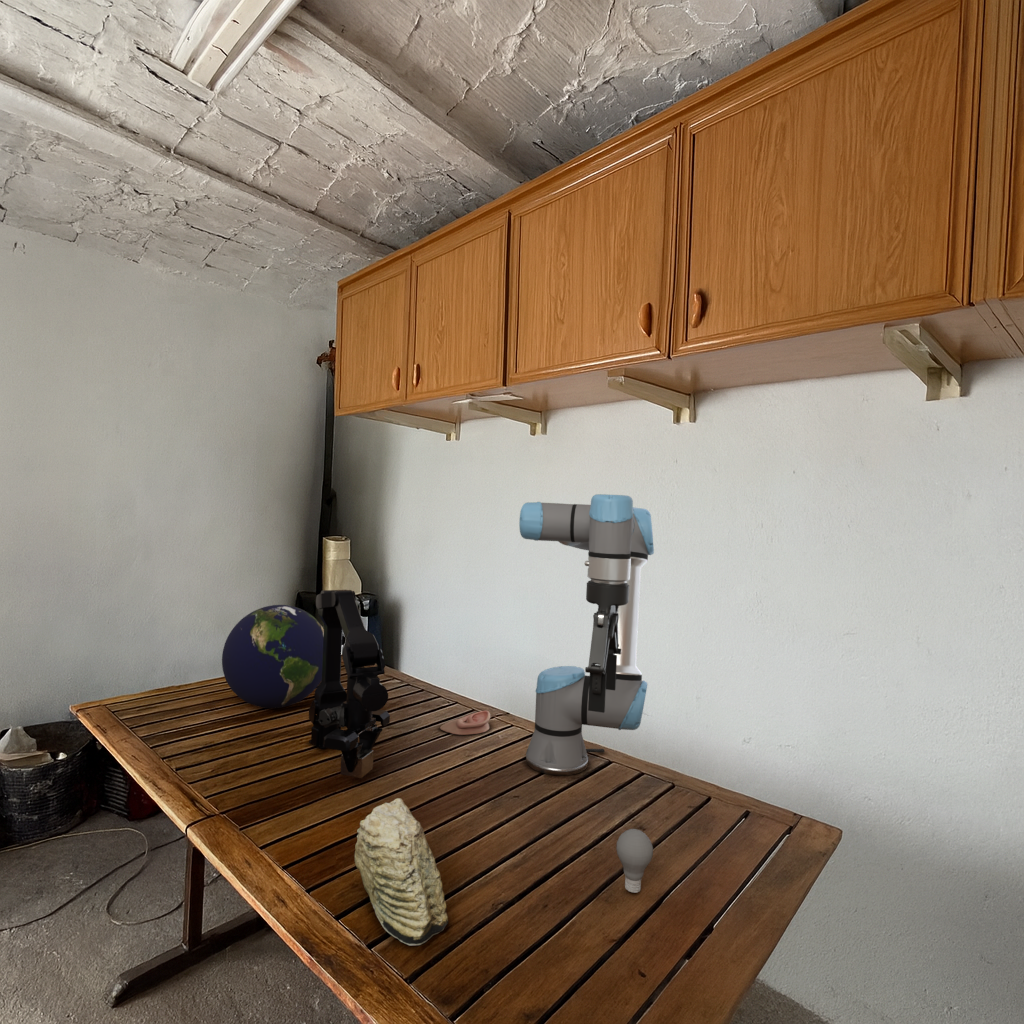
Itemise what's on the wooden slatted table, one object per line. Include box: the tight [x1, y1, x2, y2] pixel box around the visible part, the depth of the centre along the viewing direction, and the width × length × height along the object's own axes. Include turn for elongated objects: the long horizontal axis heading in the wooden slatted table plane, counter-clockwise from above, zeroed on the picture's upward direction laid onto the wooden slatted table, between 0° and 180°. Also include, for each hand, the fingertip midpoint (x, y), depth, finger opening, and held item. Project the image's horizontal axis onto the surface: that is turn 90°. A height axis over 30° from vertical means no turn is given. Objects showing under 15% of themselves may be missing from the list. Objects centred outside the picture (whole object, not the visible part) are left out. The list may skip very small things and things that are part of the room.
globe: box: [221, 604, 324, 709], centre depth 188 cm, size 30×30×30 cm
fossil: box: [354, 797, 449, 947], centre depth 98 cm, size 9×18×15 cm, turn 46°
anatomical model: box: [439, 709, 491, 736], centre depth 177 cm, size 13×4×12 cm
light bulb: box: [615, 828, 654, 894], centre depth 106 cm, size 6×6×10 cm
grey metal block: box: [340, 748, 374, 779], centre depth 140 cm, size 5×5×4 cm
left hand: (356, 766), depth 140 cm, fingers closed on grey metal block, 5 cm apart
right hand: (602, 699), depth 113 cm, fingers open, 13 cm apart
